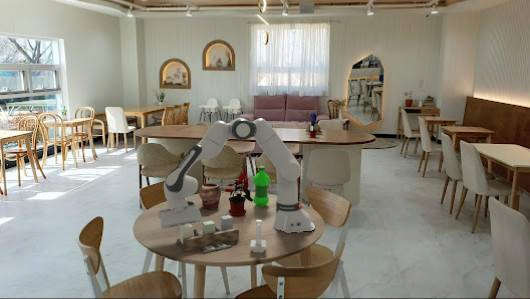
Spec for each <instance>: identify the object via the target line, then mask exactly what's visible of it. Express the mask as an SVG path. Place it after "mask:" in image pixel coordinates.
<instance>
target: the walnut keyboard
mask: <svg viewBox="0 0 530 299" xmlns="http://www.w3.org/2000/svg"><path fill="white" fill-rule="evenodd" d="M239 240H240V229H239V228H238V227H235V228H233V229H230V230H225V231H222V230H221V227H219V226H217V225H215V233H210V234H205V235H203V233H200V232H199V231H198V230H197V229H193V237H190V238H185V239H183V244H182V243H181V241H180V238H176V244H178V245H179V247H180V248H181V249H182V250H183V251H184V252H189V251H193V250H200V251H201V252H202V253H203V254H207V253H211V252H216V251H220V250H225V249H229V248H232V245H231V244H230V243H229V242H235V241H239Z"/></svg>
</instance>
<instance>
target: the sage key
mask: <svg viewBox="0 0 530 299" xmlns="http://www.w3.org/2000/svg"><path fill="white" fill-rule="evenodd" d="M215 226H216V223H215V222H214V221H213V220H207V221H202V227H201V228H202V234H203V235H205V234H210V233H215Z"/></svg>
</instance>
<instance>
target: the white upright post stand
mask: <svg viewBox="0 0 530 299" xmlns="http://www.w3.org/2000/svg"><path fill="white" fill-rule="evenodd" d="M262 225H263V220H261V219H256V220H255V239H251V240H250V248H251V250H252V252H253V253H260V254H261V253H264V251H265V249H266V247H267V240H266V239H262Z"/></svg>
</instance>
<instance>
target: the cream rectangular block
mask: <svg viewBox="0 0 530 299" xmlns="http://www.w3.org/2000/svg"><path fill="white" fill-rule="evenodd" d="M193 236H194V228H193V225H192V223H191V224H184V225H180V230H179V239H180V241H181V243H182V244H183V239H185V238H190V237H193Z"/></svg>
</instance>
